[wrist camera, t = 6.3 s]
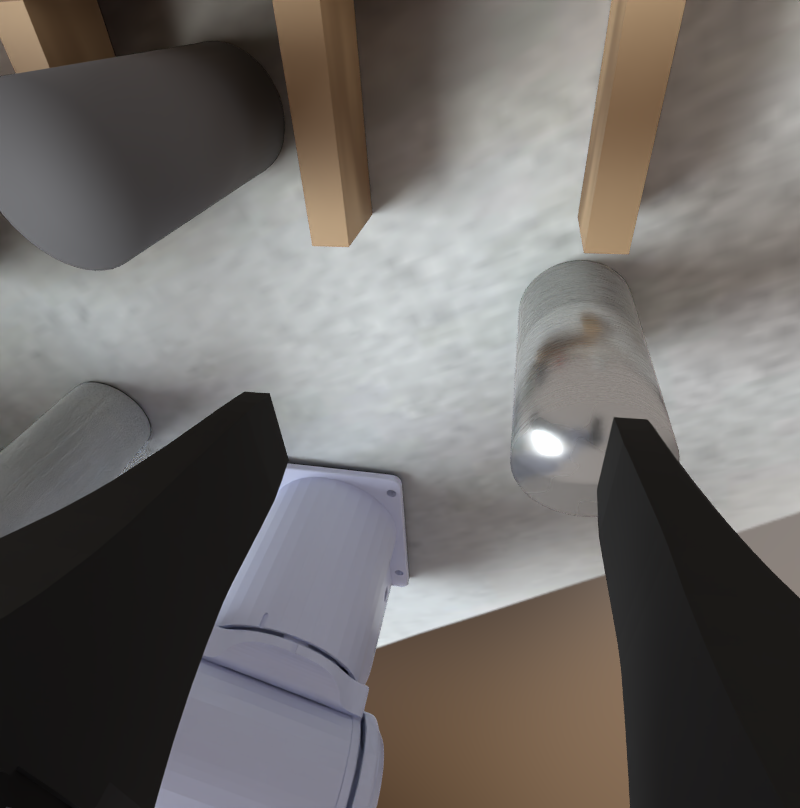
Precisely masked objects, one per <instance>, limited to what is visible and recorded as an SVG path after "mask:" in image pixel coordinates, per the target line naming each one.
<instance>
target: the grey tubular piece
mask: <svg viewBox="0 0 800 808" xmlns="http://www.w3.org/2000/svg"><path fill="white" fill-rule="evenodd" d="M150 433H151V429H150V424H149V421H148V418H147V417H146V415H145V413H144V412H143V410H142V409H141V408H140V407H139V406H138V405H137V404H136V403H135V402H134V401H133V400H132V399H131V398H130V397H128V396H127V395H126V394H124V393H123V392H121V391H119V390H117V389H115V388H113V387H111V386H108V385H105V384H101V383H94V382H89V383H83V384H80V385H78V386H77V387H75V388H74V389H73V390H71V391H70V392H69V393H68V394H67V395H65V396H64V397H63V398H62V399H61V400H60V401H58V402H57V403H56V404H55V405H54V406H53V407H52V408H50V409H49V410H48V411H47V412H46V413H45V414H44V415H42V416H41V417H40V418H39V419H38V420H37V421H36V422H34V423H33V424H32V425H31V426H30V427H29V428H28V429H26V430H25V431H24V432H23V433H22V434H21V435H19V436H18V437H17V438H16V439H15V440H14V441H13V442H11V443H10V444H9V445H8V446H7V447H6V448H5V449H3V450H2V451H1V452H0V538H1V537H3V536H6V535H8V534H10V533H12V532H14V531H16V530H18V529H20V528H22V527H25V526H27V525H29V524H31V523H33V522H35V521H37V520H39V519H41V518H43V517H45V516H48V515H50V514H52V513H54V512H56V511H58V510H60V509H62V508H64V507H66V506H68V505H70V504H71V503H73V502H75V501H77V500H79V499H80V498H82V497H84V496H86V495H88V494H90V493H91V492H93V491H95V490H97V489H99V488H100V487H102V486H104V485H105V484H107V483H109V482H111V481H112V480H114V479H116V477H117V476H118V475H119V474H120V473H121V472H122V470H123V469H124V468H125V467H126V466H127V465H128V463H129V462H130V461H131V460H132V459H133V458H134V456H135V455H136V454H137V453H138V452H139V451H140V449H141V448H142V447H143V446H144V444H145V443H146V442H147V440H148V439H149V437H150Z"/></svg>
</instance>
